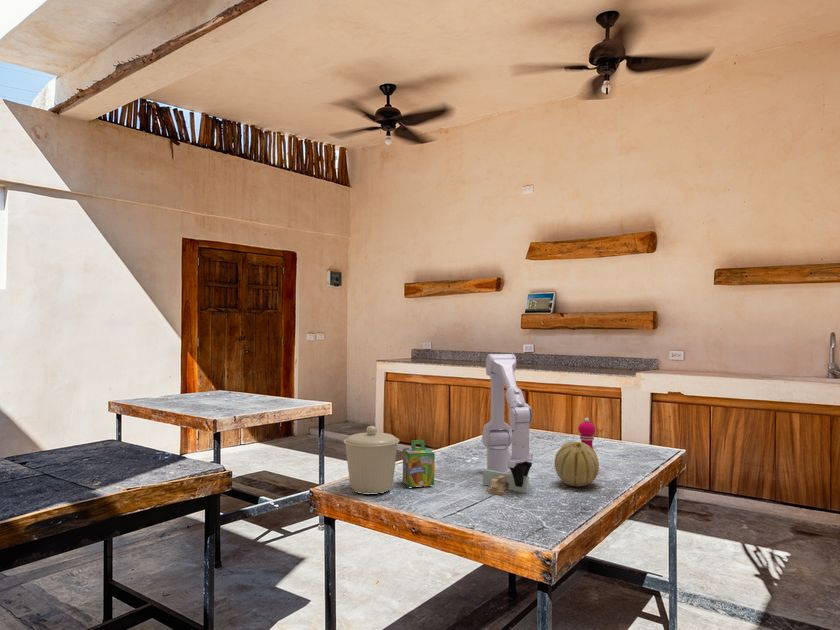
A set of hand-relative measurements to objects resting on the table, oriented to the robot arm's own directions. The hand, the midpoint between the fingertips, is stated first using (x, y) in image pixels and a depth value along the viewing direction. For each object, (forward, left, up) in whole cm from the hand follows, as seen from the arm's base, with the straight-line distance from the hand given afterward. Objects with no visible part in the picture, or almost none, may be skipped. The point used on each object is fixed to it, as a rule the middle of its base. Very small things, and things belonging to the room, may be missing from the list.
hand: (520, 485), depth 186 cm
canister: (+28, -40, -2) cm, 48 cm away
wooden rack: (0, -6, -2) cm, 6 cm away
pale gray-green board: (0, -5, -2) cm, 6 cm away
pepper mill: (-36, +9, -2) cm, 37 cm away
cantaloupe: (-17, +12, -2) cm, 21 cm away
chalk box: (+13, -32, -2) cm, 34 cm away
